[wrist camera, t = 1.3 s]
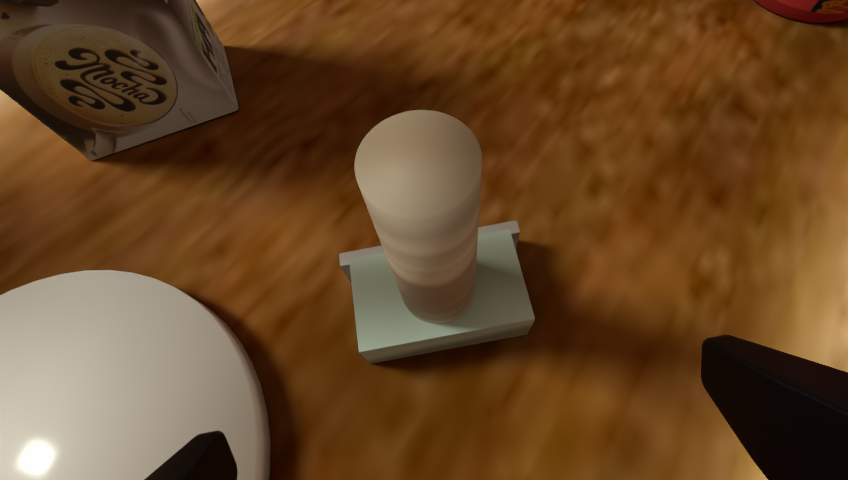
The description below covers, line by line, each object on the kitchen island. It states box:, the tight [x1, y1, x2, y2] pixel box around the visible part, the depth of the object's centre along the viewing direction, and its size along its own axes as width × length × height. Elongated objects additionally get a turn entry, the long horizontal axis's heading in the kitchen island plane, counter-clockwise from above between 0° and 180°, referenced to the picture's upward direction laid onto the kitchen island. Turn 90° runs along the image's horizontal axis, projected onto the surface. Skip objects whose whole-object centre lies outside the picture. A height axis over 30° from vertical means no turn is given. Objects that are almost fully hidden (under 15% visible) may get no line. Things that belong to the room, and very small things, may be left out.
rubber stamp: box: [339, 110, 535, 364], centre depth 16 cm, size 5×8×12 cm, turn 100°
